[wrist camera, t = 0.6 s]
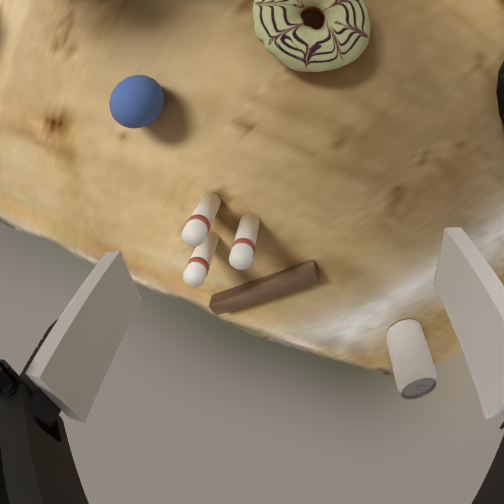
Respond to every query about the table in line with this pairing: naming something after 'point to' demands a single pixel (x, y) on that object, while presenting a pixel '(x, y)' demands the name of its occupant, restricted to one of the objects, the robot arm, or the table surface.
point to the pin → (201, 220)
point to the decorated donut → (313, 32)
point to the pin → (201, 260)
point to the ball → (136, 101)
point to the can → (411, 359)
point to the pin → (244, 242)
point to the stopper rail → (265, 288)
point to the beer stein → (501, 92)
